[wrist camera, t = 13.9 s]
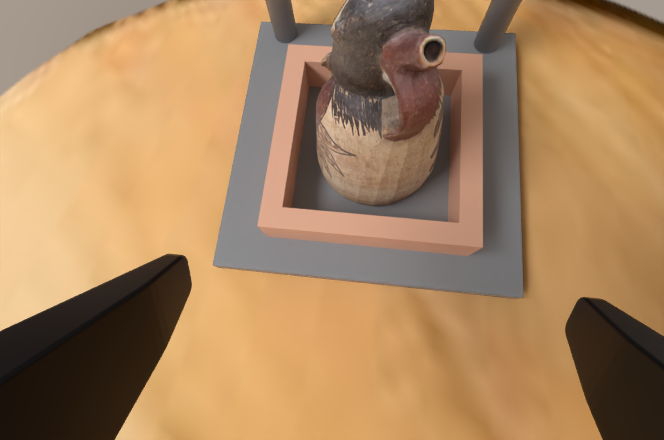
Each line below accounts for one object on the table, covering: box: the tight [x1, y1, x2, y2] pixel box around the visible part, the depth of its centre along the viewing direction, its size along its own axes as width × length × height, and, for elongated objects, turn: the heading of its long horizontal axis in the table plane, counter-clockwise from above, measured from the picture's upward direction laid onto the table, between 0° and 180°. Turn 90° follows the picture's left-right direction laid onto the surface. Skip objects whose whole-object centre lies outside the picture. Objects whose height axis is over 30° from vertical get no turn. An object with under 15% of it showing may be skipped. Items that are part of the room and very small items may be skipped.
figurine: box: [316, 0, 446, 206], centre depth 17 cm, size 7×7×12 cm
